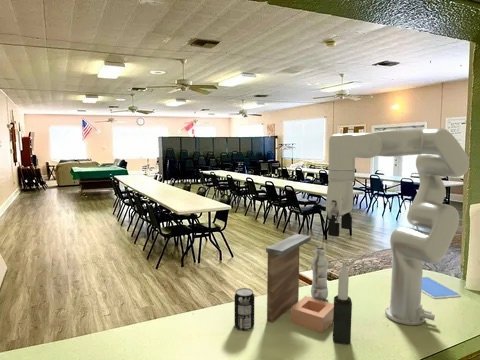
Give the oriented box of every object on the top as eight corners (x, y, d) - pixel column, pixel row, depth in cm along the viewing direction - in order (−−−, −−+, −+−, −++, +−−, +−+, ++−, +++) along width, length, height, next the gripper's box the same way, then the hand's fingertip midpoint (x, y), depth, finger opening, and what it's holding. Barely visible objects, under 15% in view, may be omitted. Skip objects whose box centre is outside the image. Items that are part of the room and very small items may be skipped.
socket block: (335, 318, 123) (336, 304, 122) (322, 332, 113) (323, 317, 113) (305, 309, 129) (305, 296, 129) (290, 322, 120) (290, 308, 119)
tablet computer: (461, 297, 140) (462, 294, 140) (433, 300, 138) (434, 297, 137) (427, 279, 159) (427, 276, 159) (402, 281, 157) (402, 278, 156)
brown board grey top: (309, 303, 134) (310, 236, 131) (281, 328, 116) (282, 251, 113) (294, 299, 137) (296, 233, 134) (265, 322, 119) (266, 247, 117)
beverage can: (244, 319, 122) (244, 285, 121) (258, 326, 117) (258, 291, 116) (230, 326, 117) (230, 291, 116) (244, 333, 113) (244, 297, 111)
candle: (350, 345, 106) (353, 264, 104) (333, 343, 107) (336, 263, 105) (349, 335, 111) (352, 259, 109) (332, 334, 112) (334, 258, 110)
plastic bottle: (321, 304, 133) (322, 252, 131) (307, 298, 138) (308, 248, 136) (331, 299, 137) (333, 249, 135) (317, 293, 142) (318, 245, 140)
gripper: (340, 172, 114) (339, 224, 116) (316, 178, 100) (315, 236, 102) (364, 174, 109) (362, 228, 111) (342, 179, 96) (340, 241, 98)
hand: (340, 232), depth 107 cm, fingers open, 9 cm apart
